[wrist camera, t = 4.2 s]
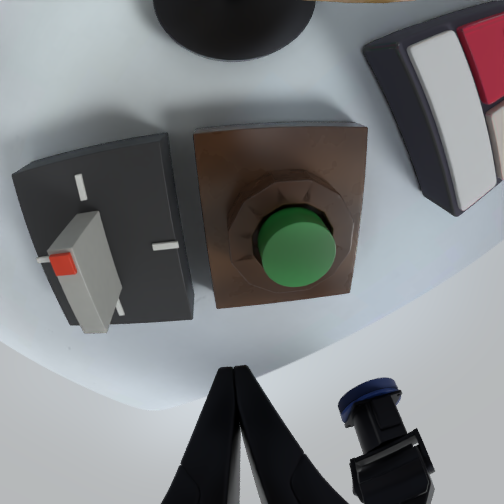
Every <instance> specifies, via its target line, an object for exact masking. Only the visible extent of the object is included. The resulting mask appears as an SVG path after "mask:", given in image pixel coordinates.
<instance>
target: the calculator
mask: <svg viewBox="0 0 504 504" xmlns="http://www.w3.org/2000/svg"><path fill="white" fill-rule="evenodd" d="M363 52H364V55H365V57H366V58H367V60H368V62H369V64H370V66H371V68H372V70H373V72H374V74H375V76H376V78H377V80H378V82H379V84H380V86H381V88H382V90H383V92H384V94H385V97H386V99H387V101H388V103H389V105H390V108H391V110H392V112H393V115H394V117H395V119H396V122H397V124H398V126H399V129H400V131H401V134H402V136H403V139H404V142H405V144H406V147H407V149H408V152H409V155H410V158H411V160H412V163H413V166H414V169H415V172H416V175H417V178H418V181H419V184H420V187H421V190H422V193H423V195H424V197H426V198H427V199H429V200H431V201H432V202H434V203H435V204H437V205H438V206H440V207H441V208H443V209H444V210H446V211H447V212H449V213H450V214H452V215H453V216H455V217H457V216H459V215H461V214H462V213H463V212H465V211H466V210H467V209H468V208H470V207H471V206H472V205H473V204H475V203H476V202H477V201H478V200H480V199H481V198H482V197H483V196H485V195H486V194H487V193H488V192H489V191H491V190H492V189H493V188H494V187H495V186H497V185H498V184H499V183H500V182H501V181H502V180H504V0H497V1H492V2H488V3H484V4H481V5H477V6H473V7H470V8H466V9H463V10H460V11H456V12H453V13H450V14H447V15H444V16H441V17H438V18H435V19H432V20H429V21H427V22H424V23H421V24H418V25H414V26H411V27H408V28H405V29H402V30H400V31H397V32H395V33H392V34H390V35H387V36H385V37H383V38H380V39H378V40H376V41H373V42H371V43H369V44H367V45H365V47H364V49H363Z"/></svg>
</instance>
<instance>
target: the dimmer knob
mask: <svg viewBox="0 0 504 504" xmlns="http://www.w3.org/2000/svg"><path fill="white" fill-rule="evenodd" d="M47 252H48V255H49V260H50V262H51V265H52V267H53V269H54V272H55V274H56V276H57V277H58V279H59V282H60V284H61V286H62V289H63V291H64V293H65V295H66V297H67V300H68V302H69V304H70V306H71V308H72V310H73V312H74V314H75V316H76V318H77V320H78V322H79V324H80V326H81V328H82V330H83V332H84V333H107V331H108V328H109V325H110V322H111V319H112V316H113V313H114V310H115V307H116V304H117V301H118V298H119V295H120V292H121V290H122V285H121V282H120V280H119V277H118V274H117V271H116V267H115V264H114V261H113V258H112V255H111V252H110V248H109V245H108V242H107V238H106V235H105V231H104V228H103V224H102V221H101V217H100V213H99V211H92V212H86V213H80V214H77V215H76V216H75V217H74V218H73V219H72V220H71V222H70V223H69V224H68V225H67V226H66V228H65V229H64V230H63V231H62V232H61V234H60V235H59V236H58V237H57V239H56V240H55V241H54V243H53V244H52V245H51V246H50V248H49V249H48V250H47Z"/></svg>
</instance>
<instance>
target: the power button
mask: <svg viewBox="0 0 504 504" xmlns="http://www.w3.org/2000/svg"><path fill="white" fill-rule="evenodd" d="M258 248H259V253H260V257H261V261H262V265H263V268H264V271H265V272H266V274H267V275H268V276H269V278H270V279H272V280H273V281H274V282H276V283H278V284H280V285H283V286H288V287H300V286H305V285H308V284H311V283H313V282H315V281H317V280H318V279H320V278H321V277H322V276H324V275H325V274H326V273H327V271H328V270H329V269H330V267H331V266H332V264H333V262H334V259H335V255H336V244H335V240H334V238H333V236H332V234H331V233H330V231H329V230H328V229H327V227H326V226H325V224H324V223H323V221H322V220H321V218H320V217H319V216H318V215H317V214H316V213H315V212H313V211H311V210H309V209H307V208H303V207H288V208H284V209H281V210H279V211H277V212H275V213H274V214H272V215H271V216H270V217H269V218H267V220H266V221H265V222H264V223H263V225H262V226H261V228H260V231H259V234H258Z"/></svg>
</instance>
